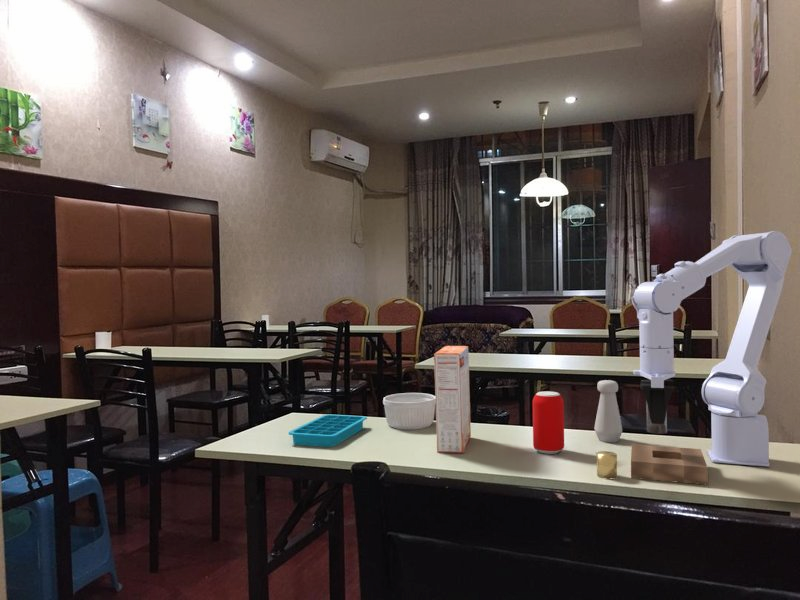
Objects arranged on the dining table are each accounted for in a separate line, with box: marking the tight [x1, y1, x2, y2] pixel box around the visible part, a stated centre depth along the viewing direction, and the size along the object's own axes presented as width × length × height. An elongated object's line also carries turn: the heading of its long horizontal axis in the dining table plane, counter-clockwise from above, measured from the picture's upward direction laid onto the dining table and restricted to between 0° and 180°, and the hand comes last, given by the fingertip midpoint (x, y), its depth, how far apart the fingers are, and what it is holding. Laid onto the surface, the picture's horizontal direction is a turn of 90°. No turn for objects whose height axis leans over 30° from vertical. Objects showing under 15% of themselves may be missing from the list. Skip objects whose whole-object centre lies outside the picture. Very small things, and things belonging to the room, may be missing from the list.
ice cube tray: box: [288, 414, 368, 448], centre depth 140 cm, size 12×20×3 cm, turn 161°
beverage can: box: [532, 390, 565, 455], centre depth 123 cm, size 6×6×12 cm
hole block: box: [630, 443, 709, 486], centre depth 108 cm, size 12×12×3 cm
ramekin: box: [382, 392, 436, 431], centre depth 149 cm, size 13×13×7 cm
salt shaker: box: [593, 379, 623, 443], centre depth 131 cm, size 6×6×13 cm
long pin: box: [645, 400, 668, 435], centre depth 109 cm, size 3×3×7 cm
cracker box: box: [433, 345, 472, 454], centre depth 129 cm, size 14×6×21 cm, turn 167°
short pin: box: [596, 450, 618, 480], centre depth 106 cm, size 3×3×4 cm
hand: (657, 421), depth 109 cm, fingers closed on long pin, 3 cm apart
